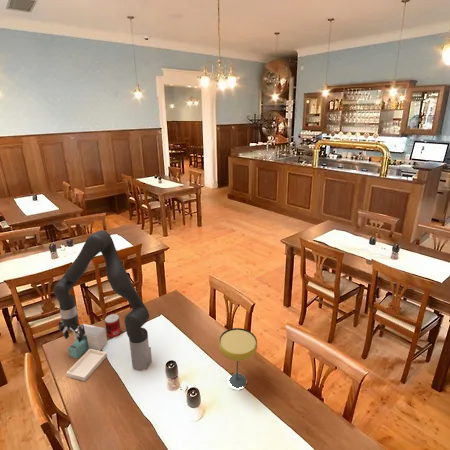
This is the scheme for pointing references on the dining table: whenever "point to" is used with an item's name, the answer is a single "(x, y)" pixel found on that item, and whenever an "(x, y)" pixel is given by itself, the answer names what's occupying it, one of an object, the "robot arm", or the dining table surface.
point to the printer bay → (94, 336)
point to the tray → (86, 365)
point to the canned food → (112, 325)
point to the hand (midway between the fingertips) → (73, 339)
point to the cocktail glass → (238, 350)
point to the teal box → (78, 348)
